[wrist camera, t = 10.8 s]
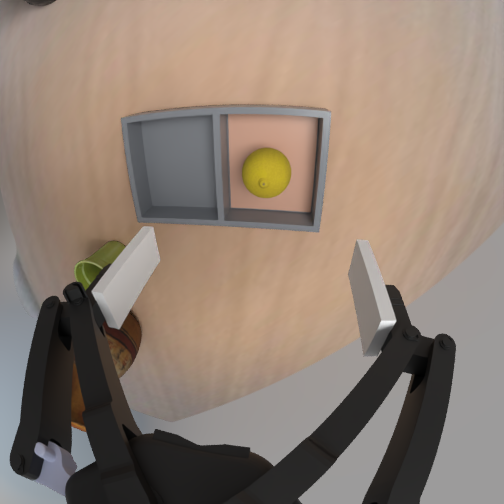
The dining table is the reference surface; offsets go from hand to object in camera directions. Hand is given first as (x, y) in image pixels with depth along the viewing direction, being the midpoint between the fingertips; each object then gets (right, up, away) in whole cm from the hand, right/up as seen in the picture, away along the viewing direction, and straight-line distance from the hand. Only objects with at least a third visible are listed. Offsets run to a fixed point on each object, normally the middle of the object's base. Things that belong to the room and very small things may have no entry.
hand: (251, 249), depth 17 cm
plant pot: (-25, 0, +30) cm, 38 cm away
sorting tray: (-3, +12, +17) cm, 21 cm away
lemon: (+2, +11, +16) cm, 20 cm away
